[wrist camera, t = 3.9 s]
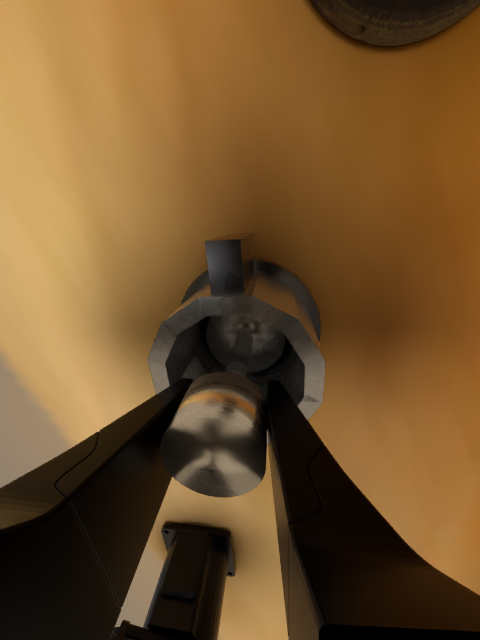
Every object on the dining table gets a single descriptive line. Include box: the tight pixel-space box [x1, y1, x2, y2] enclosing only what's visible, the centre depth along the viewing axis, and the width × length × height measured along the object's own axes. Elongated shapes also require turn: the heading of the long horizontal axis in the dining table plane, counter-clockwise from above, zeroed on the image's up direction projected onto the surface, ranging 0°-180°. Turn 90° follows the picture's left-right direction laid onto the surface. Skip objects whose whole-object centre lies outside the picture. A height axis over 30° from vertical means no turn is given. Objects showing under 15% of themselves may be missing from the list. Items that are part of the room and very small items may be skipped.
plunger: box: [160, 315, 285, 497], centre depth 10 cm, size 4×4×8 cm
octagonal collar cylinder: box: [148, 234, 325, 444], centre depth 12 cm, size 9×8×5 cm
